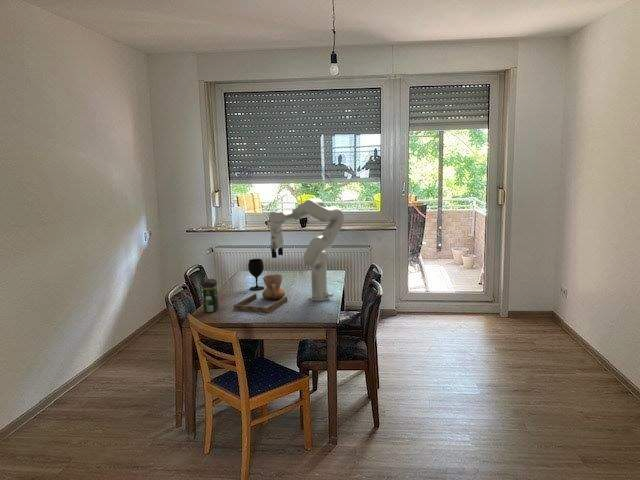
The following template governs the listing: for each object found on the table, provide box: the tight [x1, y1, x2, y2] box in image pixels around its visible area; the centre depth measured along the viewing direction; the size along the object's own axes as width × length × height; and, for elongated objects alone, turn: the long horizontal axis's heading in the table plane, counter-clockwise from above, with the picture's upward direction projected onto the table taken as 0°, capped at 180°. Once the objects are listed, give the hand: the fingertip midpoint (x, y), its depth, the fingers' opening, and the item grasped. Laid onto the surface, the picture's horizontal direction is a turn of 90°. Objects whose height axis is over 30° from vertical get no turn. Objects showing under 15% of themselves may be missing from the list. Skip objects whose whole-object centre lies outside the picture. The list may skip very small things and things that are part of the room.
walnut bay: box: [233, 293, 288, 314], centre depth 300 cm, size 23×25×3 cm
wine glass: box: [247, 258, 265, 292], centre depth 339 cm, size 10×10×20 cm
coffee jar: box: [201, 278, 220, 313], centre depth 292 cm, size 10×8×19 cm
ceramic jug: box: [261, 274, 286, 301], centre depth 315 cm, size 18×14×14 cm
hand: (277, 256), depth 326 cm, fingers open, 9 cm apart
